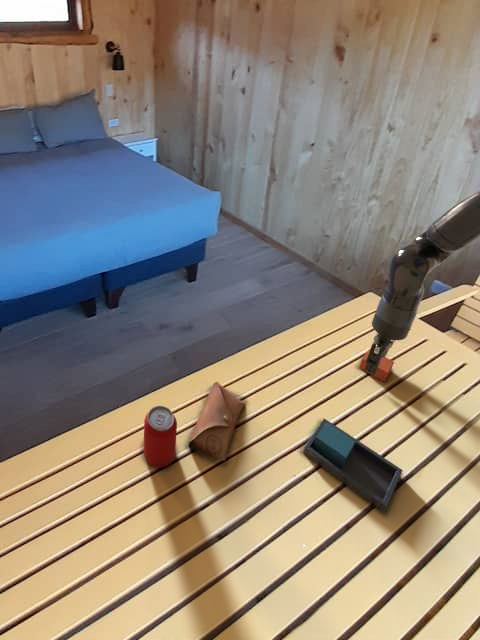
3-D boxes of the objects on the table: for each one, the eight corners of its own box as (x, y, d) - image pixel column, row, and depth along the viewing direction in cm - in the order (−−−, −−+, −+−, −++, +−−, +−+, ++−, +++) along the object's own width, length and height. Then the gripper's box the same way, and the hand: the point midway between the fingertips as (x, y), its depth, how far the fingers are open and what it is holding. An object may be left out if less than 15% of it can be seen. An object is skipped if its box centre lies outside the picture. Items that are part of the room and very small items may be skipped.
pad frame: (398, 478, 81) (402, 470, 80) (382, 514, 76) (386, 506, 74) (321, 425, 92) (323, 417, 90) (302, 454, 86) (304, 446, 85)
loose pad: (389, 372, 104) (394, 361, 103) (383, 383, 101) (387, 372, 100) (365, 359, 108) (368, 348, 107) (358, 369, 105) (361, 359, 104)
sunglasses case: (226, 467, 83) (212, 442, 82) (197, 463, 88) (184, 440, 87) (246, 400, 97) (235, 378, 96) (221, 400, 102) (209, 379, 101)
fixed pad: (351, 453, 85) (355, 441, 83) (341, 469, 82) (346, 458, 80) (322, 433, 89) (326, 422, 87) (312, 448, 86) (316, 437, 84)
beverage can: (179, 447, 88) (182, 411, 82) (166, 475, 83) (169, 439, 77) (152, 433, 91) (153, 397, 85) (138, 459, 86) (138, 423, 80)
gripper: (403, 339, 89) (382, 388, 97) (421, 309, 98) (400, 356, 105) (366, 321, 94) (349, 369, 102) (386, 294, 103) (369, 340, 110)
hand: (375, 363), depth 104 cm, fingers open, 8 cm apart
